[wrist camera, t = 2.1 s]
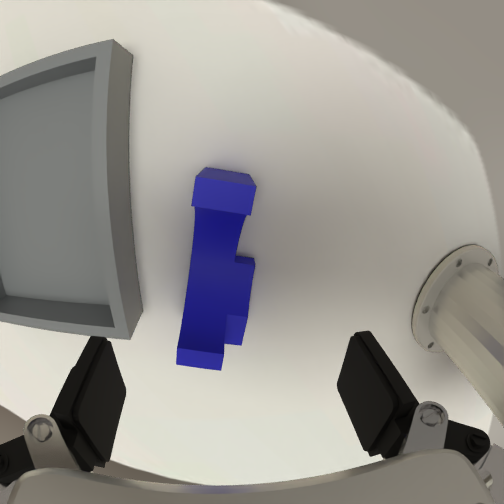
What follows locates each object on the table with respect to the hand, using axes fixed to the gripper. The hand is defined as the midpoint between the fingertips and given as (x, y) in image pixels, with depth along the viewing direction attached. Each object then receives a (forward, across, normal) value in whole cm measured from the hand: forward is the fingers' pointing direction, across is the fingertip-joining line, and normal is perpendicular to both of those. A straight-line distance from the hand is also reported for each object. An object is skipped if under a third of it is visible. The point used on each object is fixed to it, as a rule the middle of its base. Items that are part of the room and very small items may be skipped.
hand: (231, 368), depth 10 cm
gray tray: (+12, +15, -5) cm, 20 cm away
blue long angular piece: (+12, 0, 0) cm, 12 cm away
